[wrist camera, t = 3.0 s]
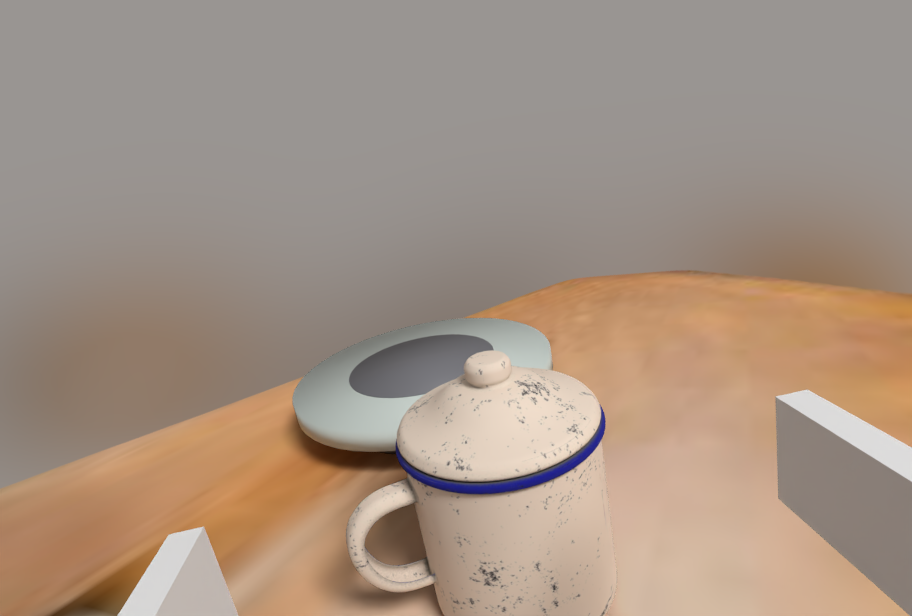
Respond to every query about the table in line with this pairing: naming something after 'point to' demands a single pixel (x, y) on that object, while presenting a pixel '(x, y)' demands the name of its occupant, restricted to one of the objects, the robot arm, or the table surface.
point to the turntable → (401, 377)
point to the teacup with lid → (501, 496)
